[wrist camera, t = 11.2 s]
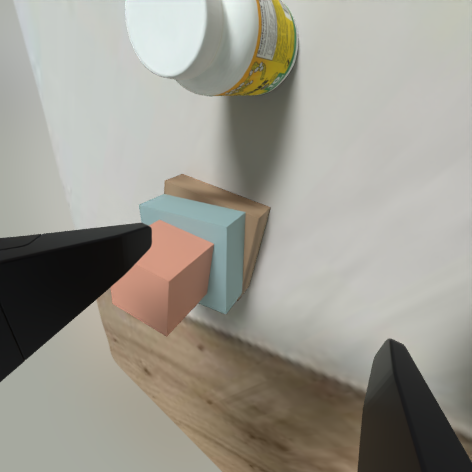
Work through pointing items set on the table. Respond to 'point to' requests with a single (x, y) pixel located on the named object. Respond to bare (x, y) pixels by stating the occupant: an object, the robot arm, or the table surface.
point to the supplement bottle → (215, 43)
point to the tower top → (213, 230)
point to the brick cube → (166, 278)
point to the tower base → (219, 197)
